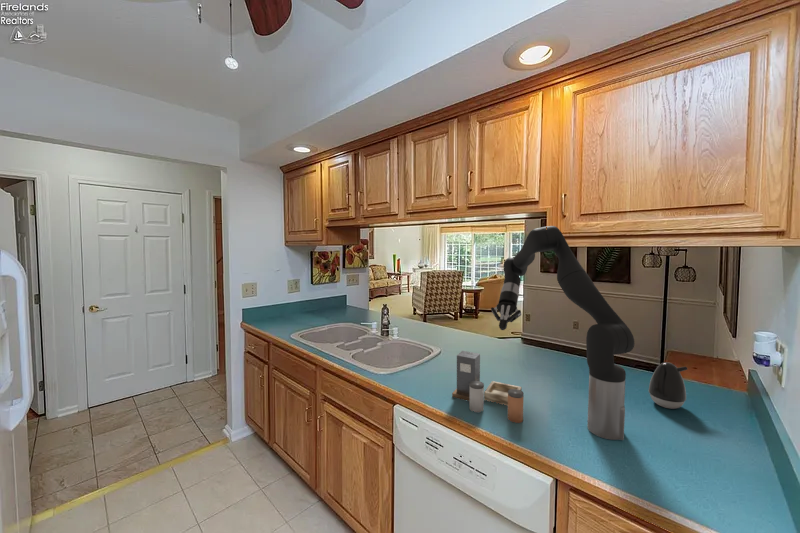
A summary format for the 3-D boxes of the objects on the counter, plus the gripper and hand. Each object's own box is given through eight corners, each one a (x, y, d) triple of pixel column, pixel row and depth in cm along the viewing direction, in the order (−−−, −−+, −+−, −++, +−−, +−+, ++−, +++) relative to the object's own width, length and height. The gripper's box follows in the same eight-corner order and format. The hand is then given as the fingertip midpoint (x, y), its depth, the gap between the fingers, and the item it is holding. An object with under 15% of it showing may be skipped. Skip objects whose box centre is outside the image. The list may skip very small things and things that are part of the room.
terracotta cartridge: (524, 417, 109) (524, 391, 108) (521, 424, 104) (522, 397, 104) (509, 413, 111) (509, 387, 110) (506, 420, 107) (506, 393, 106)
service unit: (483, 391, 127) (484, 352, 126) (475, 402, 118) (476, 360, 117) (461, 386, 132) (461, 348, 130) (452, 397, 123) (452, 356, 122)
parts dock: (521, 394, 124) (521, 386, 124) (515, 407, 115) (515, 399, 115) (492, 388, 130) (492, 380, 130) (484, 400, 120) (484, 392, 120)
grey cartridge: (485, 407, 115) (485, 382, 114) (481, 413, 111) (481, 387, 110) (471, 404, 118) (472, 379, 117) (467, 410, 113) (467, 384, 113)
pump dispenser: (692, 414, 109) (694, 370, 108) (654, 409, 112) (656, 366, 111) (678, 400, 118) (680, 359, 117) (643, 396, 122) (645, 356, 121)
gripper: (492, 289, 146) (484, 322, 136) (524, 291, 139) (517, 326, 130) (495, 299, 151) (487, 331, 141) (526, 301, 144) (520, 336, 135)
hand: (502, 329), depth 135 cm, fingers closed
